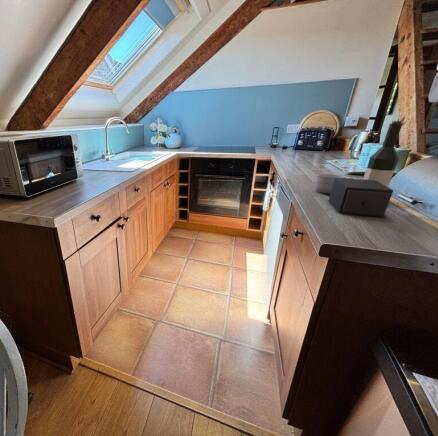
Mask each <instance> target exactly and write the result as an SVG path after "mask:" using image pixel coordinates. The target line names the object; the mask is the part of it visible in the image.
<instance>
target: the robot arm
mask: <svg viewBox="0 0 438 436" xmlns="http://www.w3.org/2000/svg"><path fill="white" fill-rule="evenodd" d="M436 71H438V64H437V65H436ZM428 102H429V103H438V72H437V73H436V74H435V76H434V78H433V81H432V84H431V87H430V90H429V93H428Z"/></svg>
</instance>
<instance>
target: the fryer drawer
mask: <svg viewBox="0 0 438 436" xmlns="http://www.w3.org/2000/svg"><path fill="white" fill-rule="evenodd" d="M391 195H393V193H392V194H391V193H386V192H378V191H364V190H350V189H349V190H348V192H347V195H346V198H345V201H344V205H343V208H342V212H349V213H359V214H369V215H379V216H383V217H385V214H386V211H387V209H388V206H389V203H390V201H389V200H391V198H392V196H391ZM387 205H388V206H387ZM386 208H387V209H386ZM384 213H385V214H384Z"/></svg>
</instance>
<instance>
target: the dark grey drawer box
mask: <svg viewBox="0 0 438 436" xmlns="http://www.w3.org/2000/svg"><path fill="white" fill-rule="evenodd" d="M346 178H347V177H346ZM346 178H335V180H334V183H333V187H332V190H331V194H329V199H328V202H329V203H330V204H331V205H332V206H333V208H334V209H335V210H336V211H337V213H339V214H345V215H346V214H347V215H357V216H367V217H375V218H384V216H379V215H369V214H359V213H349V212H342V208H343V205H344V201H345V198H346V195H347V192H348V190H349V189H350V190H364V191H378V192H386V193H391V194H392V195H393V194H394V193H393V192H394V189H393V188H390V187H386V186H385V185H383V184H381V183H379V182H377V181H375V180H363V178H362V179H361V178H359V179H358V178H354V179H346ZM392 195H391V197H392ZM390 200H391V199H390ZM390 200H389V202H390ZM388 206H389V204H388V205H387V208H386V210H387V209H388ZM385 214H386V212H385V213H384V215H385Z"/></svg>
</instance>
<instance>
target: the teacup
mask: <svg viewBox="0 0 438 436" xmlns="http://www.w3.org/2000/svg"><path fill="white" fill-rule="evenodd" d="M335 178H346V179H355V178H354V177H350V176H348V177H347V176H346V175H343V174H334V173H317V174H316V177H315V181H314V188H315V189H316V190H317V192H319V193H322V194H328V195H330V194H331V190H332V187H333V183H334V180H335Z"/></svg>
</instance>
